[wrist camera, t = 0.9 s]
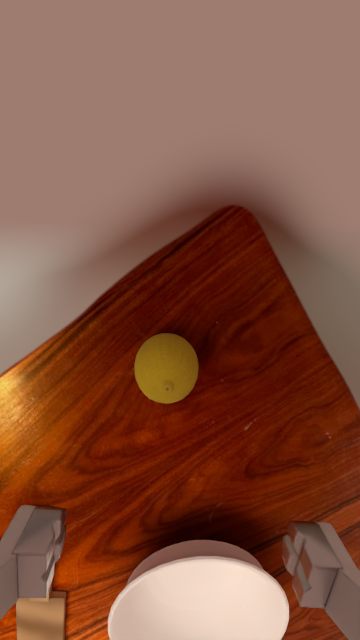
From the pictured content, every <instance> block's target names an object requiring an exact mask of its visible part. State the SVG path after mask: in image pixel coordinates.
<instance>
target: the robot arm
mask: <svg viewBox="0 0 360 640" xmlns="http://www.w3.org/2000/svg"><path fill="white" fill-rule="evenodd" d="M65 519H66V509H65V508H55V507H44V506H30V505H22V506H21V507H20V508H19V509H18V510H17V512H16V514H15V516H14V518H13V519H12V521H11V523H10V525H9V527H8V528H7V530H6V532H5V534H4V536H3V537H2V539H1V541H0V620H1V619H2V617H3V616H4V615H5V614H6V613H7V612H8V611H9V610H10V608H11V607H12V606H13V605H14V604H15V603H16V602H17V600H18V598H46V597H47V594H48V591H49V588H50V585H51V582H52V579H53V577H54V567H55V563H56V562H57V561H58V560H59V559H60V556H61V553H62V549H63V545H64V541H65V535H66V525H65V524H64V522H65ZM286 530H287V532H288V534H287V535H286V536H284V537H283V540H282V557H283V561H284V564H285V567H286V569H287V570H288V571H289V573H290V574H291V575H292V576H293V580H292V586H293V589H294V591H295V594H296V597H297V600H298V602H299V605H300V607H313V608H325V611H326V613H327V614H328V615H329V616H330V617H331V619H332V620H333V621H334V622H335V624H336V625H337V626H338V627H339V629H340V630H341V631H342V632H343V634H344V635H345V636H346V637H347V639H348V640H360V570H358V569H357V567H356V565H355V564H354V562H353V560H352V559H351V557H350V555H349V554H348V552H347V550H346V548H345V547H344V545H343V543H342V542H341V540H340V538H339V537H338V535H337V533H336V531H335V530H334V528H333V526H332V525H331V524H330V523H324V522H310V521H289V522H288V523H287V526H286Z"/></svg>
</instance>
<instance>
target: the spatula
mask: <svg viewBox="0 0 360 640" xmlns="http://www.w3.org/2000/svg"><path fill="white" fill-rule="evenodd" d="M44 507H47V506H44ZM16 618H17V640H65V618H66V592H65V591H52V582H51V585H50V588H49V591H48V594H47V597H46V598H18V600H17V602H16Z"/></svg>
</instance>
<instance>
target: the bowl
mask: <svg viewBox="0 0 360 640" xmlns="http://www.w3.org/2000/svg"><path fill="white" fill-rule="evenodd" d="M288 620H289V603H288V600H287V597H286V594H285V592H284V590H283V589H282V587H281V586H280V584H279V583H278V582H277V581H276V580H275V579H274V578H273V577H272V576H271V575H270V574H268V573H267V572H266V571H264V569H263V568H262V566H261V565H260V563H259V562H258V561H257V559H255V558H254V557H253V556H252V555H251V554H250V553H249V552H247V551H245V550H243V549H241V548H240V547H238V546H235V545H232V544H229V543H226V542H220V541H214V540H190V541H184V542H180V543H177V544H174V545H170V546H167V547H165V548H163V549H161V550H159V551H157V552H155V553H153V554H152V555H150V556H149V557H147V558H146V559H145V560H143V561H142V562H141V563H140V564H139V565H138V567H137V568H136V569H135V570H134V571H133V573H132V575H131V576H130V578H129V580H128V582H127V585H126V587H125V588H124V590H123V591H122V592H121V593H120V594H119V595H118V597H117V598H116V600H115V602H114V603H113V605H112V607H111V610H110V614H109V617H108V634H109V638H110V640H281V638H282V637H283V635H284V633H285V631H286V628H287V624H288Z"/></svg>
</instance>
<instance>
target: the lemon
mask: <svg viewBox="0 0 360 640" xmlns="http://www.w3.org/2000/svg"><path fill="white" fill-rule="evenodd" d="M198 368H199V366H198V360H197V355H196V353H195V351H194V349H193V347H192V346H191V345H190V344H189V343H188V341H186V340H185V339H184V338H182V337H181V336H178V335H175V334H171V333H162V334H158V335H155V336H153V337H151V338H150V339H148V340H147V341H146V342H145V343H144V344H143V345H142V346H141V347H140V349H139V351H138V353H137V355H136V359H135V365H134V369H135V378H136V380H137V383H138V386H139V388H140V389H141V390H142V392H143V393H144V394H145V395H146V396H147V397H148V398H150V399H151V400H154V401H156V402H160V403H173V402H177V401H179V400H181V399H183V398H184V397H185V396H187V395H188V394H189V393H190V391H191V390H192V389H193V387H194V385H195V382H196V380H197V376H198Z"/></svg>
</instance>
